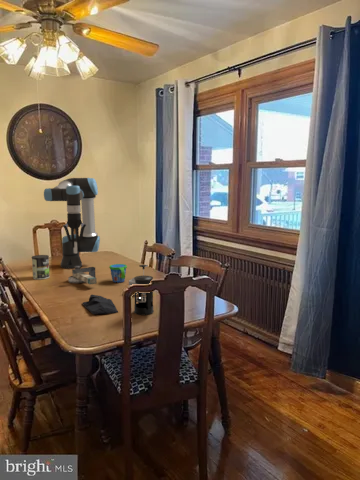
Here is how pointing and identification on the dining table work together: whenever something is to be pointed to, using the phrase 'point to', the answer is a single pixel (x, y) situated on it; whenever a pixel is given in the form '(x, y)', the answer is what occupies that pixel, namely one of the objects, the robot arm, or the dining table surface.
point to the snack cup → (118, 272)
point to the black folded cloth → (100, 305)
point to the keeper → (81, 270)
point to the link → (84, 277)
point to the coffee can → (40, 266)
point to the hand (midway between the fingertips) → (75, 252)
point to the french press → (146, 301)
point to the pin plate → (74, 280)
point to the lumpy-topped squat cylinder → (133, 283)
